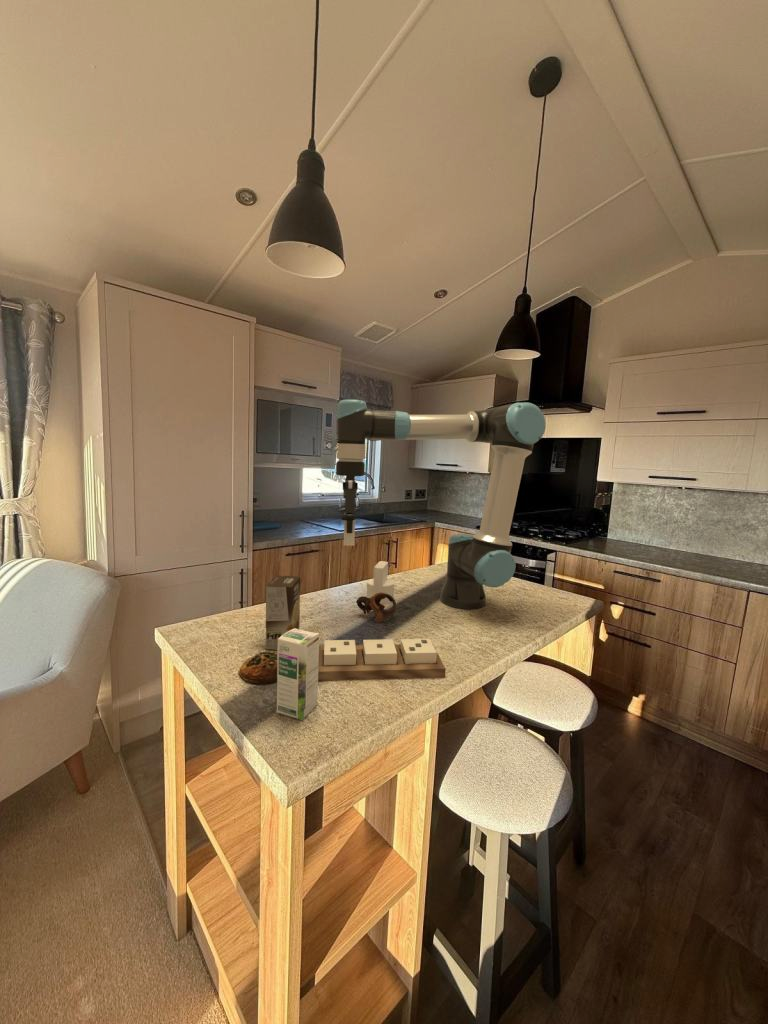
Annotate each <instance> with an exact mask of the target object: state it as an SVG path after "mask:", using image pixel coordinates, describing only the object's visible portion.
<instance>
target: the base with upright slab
mask: <svg viewBox="0 0 768 1024" xmlns="http://www.w3.org/2000/svg"><path fill="white" fill-rule="evenodd" d="M388 573H389V561H383V560H381V561H380V560H379V561H378V562H377V563H376V564H375V566H374V567H373V578H370V579H368V580H367V581H366V597H367V598H371V597H372V596H374V595H375V594H377V593H386V594H389V595H391V596H392V597H393V598H394V591H395V590H394V589H395V581H393V580H391V579H389V578H388V576H389V575H388ZM380 604H382V605H387V604H392V602H391V601H389V599H388V598H384V599H381V601H380Z"/></svg>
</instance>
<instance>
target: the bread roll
mask: <svg viewBox="0 0 768 1024" xmlns="http://www.w3.org/2000/svg"><path fill="white" fill-rule="evenodd" d="M277 652H278V651H271V650H266V651H260V652H259V653H256V654H255V655H254V656H250V657H249V658H248V659H246V660H244V662H243V663H242V664H241V665H240V668H239V670H238V673H239V675H240V677H241V678H242V679H243V680H244V681H246V682H247V683H250V684H259V685H261V684H263V685H265V684H271V683H277Z"/></svg>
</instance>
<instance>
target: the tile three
mask: <svg viewBox="0 0 768 1024" xmlns="http://www.w3.org/2000/svg"><path fill="white" fill-rule="evenodd" d="M400 644H401V648H400V649H401V652H402V655H403V656H402V659H403V662H404V665H405V664H433V663H436V657H437V653H438V651H437V649H436V647H435V646H433V645H434V644H433V643H432V641H431V639H430V638H406V639H405V638H403V639H402V638H401V639H400ZM434 647H435V648H434ZM435 649H436V650H435ZM436 651H437V652H436Z"/></svg>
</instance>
